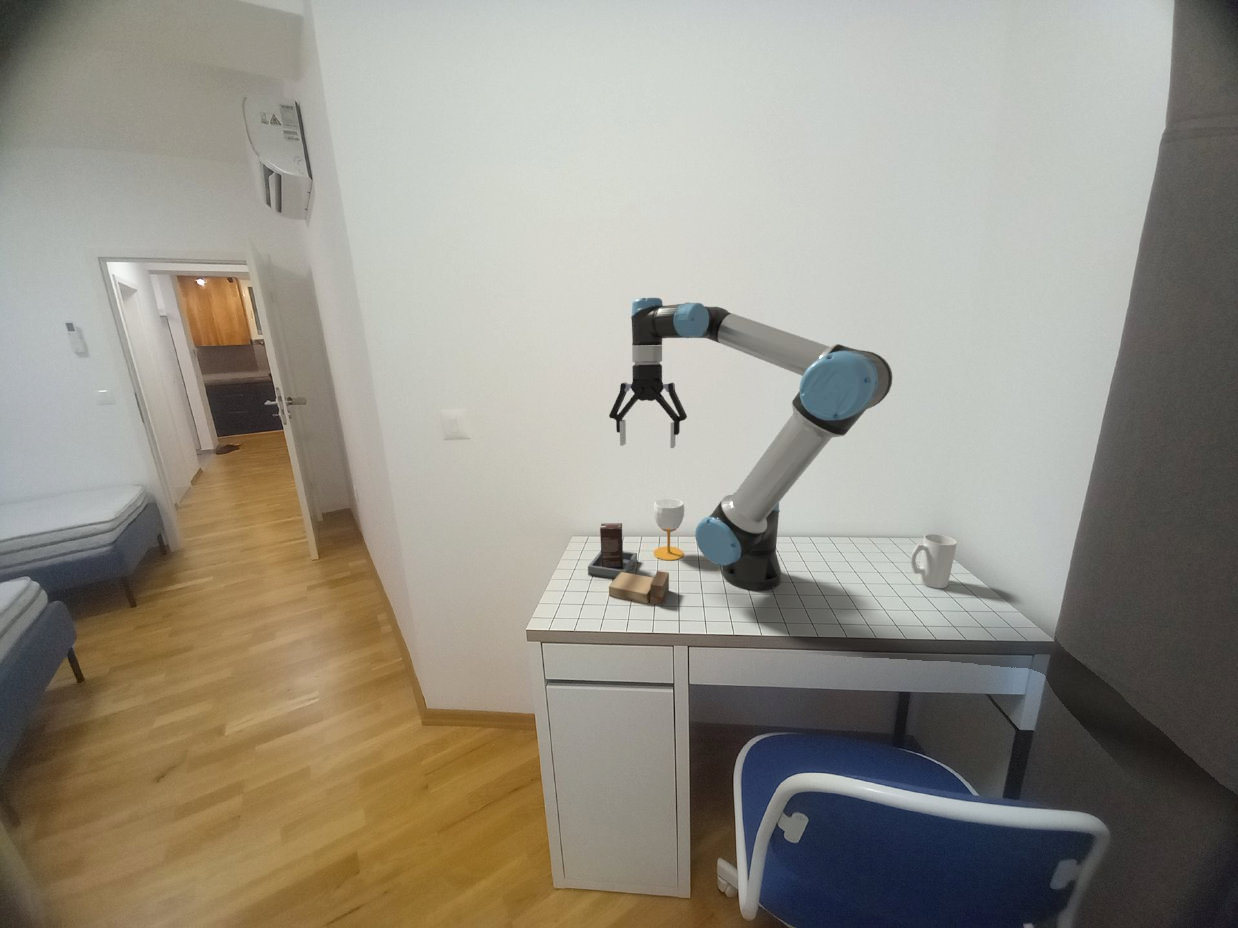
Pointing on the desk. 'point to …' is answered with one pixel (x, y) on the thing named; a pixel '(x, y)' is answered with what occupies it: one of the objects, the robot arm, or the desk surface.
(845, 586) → the desk surface
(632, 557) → the tray
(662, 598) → the brown rectangular block
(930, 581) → the mug
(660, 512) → the cup
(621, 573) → the light brown wooden block
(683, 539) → the desk surface
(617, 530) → the box
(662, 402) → the robot arm
